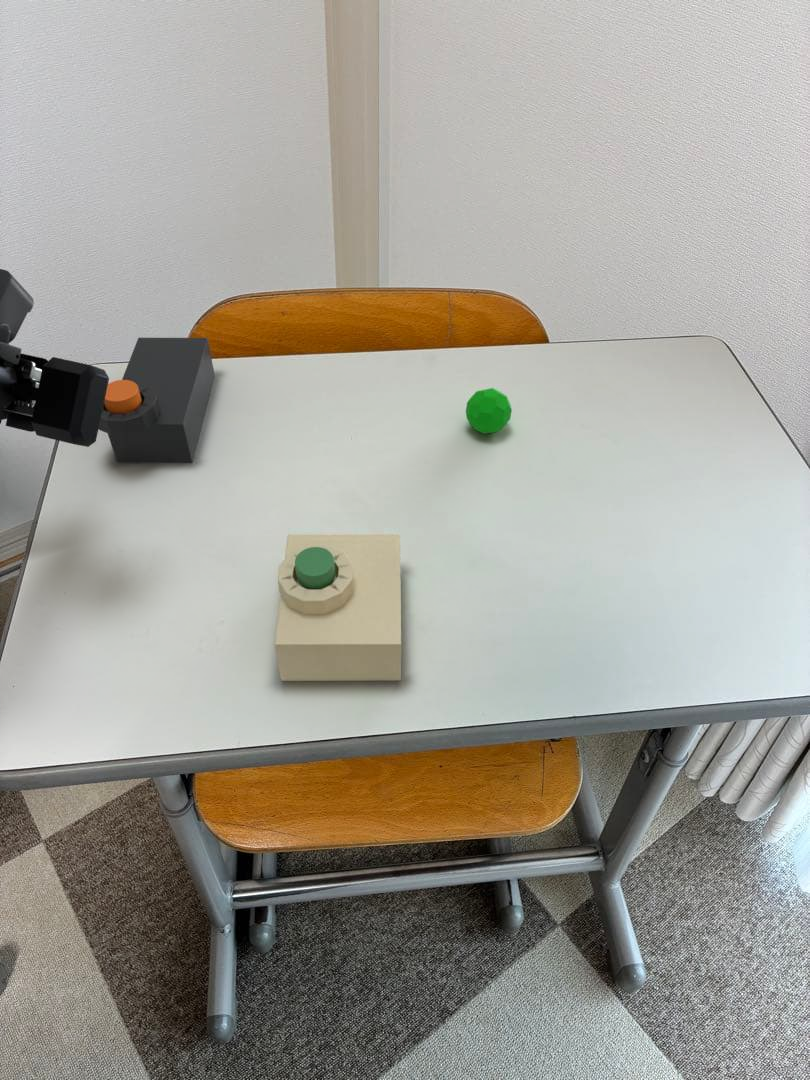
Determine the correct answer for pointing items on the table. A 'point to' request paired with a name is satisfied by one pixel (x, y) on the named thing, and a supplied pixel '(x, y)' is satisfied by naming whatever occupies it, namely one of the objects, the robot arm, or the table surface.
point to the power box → (342, 612)
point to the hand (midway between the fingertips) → (59, 401)
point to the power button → (315, 568)
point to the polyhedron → (488, 410)
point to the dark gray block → (163, 401)
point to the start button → (122, 397)
